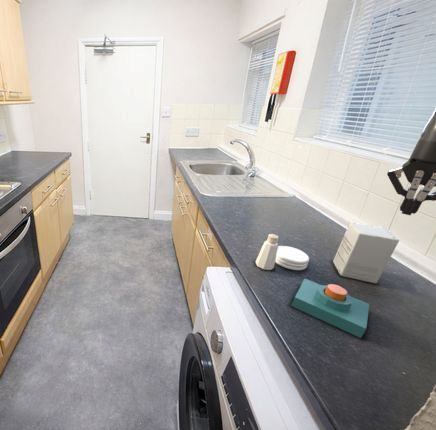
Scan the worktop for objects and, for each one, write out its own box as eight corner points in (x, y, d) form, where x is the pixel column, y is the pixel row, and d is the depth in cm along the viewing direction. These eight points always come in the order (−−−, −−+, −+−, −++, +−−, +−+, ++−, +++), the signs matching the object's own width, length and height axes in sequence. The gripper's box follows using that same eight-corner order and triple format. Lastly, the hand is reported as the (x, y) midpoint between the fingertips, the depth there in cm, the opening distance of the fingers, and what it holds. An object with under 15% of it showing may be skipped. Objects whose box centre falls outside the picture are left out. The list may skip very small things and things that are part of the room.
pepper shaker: (274, 264, 86) (284, 234, 82) (272, 272, 82) (283, 242, 77) (256, 258, 89) (265, 229, 84) (253, 266, 85) (262, 236, 80)
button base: (364, 312, 67) (373, 297, 65) (360, 338, 60) (370, 322, 58) (301, 286, 76) (306, 272, 74) (291, 306, 69) (297, 291, 67)
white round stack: (298, 275, 81) (302, 265, 80) (265, 259, 88) (268, 250, 87) (311, 264, 87) (315, 255, 85) (279, 250, 94) (282, 242, 92)
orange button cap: (345, 295, 66) (348, 289, 65) (343, 303, 64) (346, 297, 63) (325, 288, 69) (328, 281, 68) (323, 295, 66) (326, 289, 65)
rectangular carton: (365, 268, 85) (386, 227, 79) (377, 284, 78) (401, 240, 72) (331, 261, 89) (349, 221, 83) (339, 275, 81) (359, 233, 75)
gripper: (491, 141, 54) (445, 217, 62) (401, 134, 63) (370, 202, 70) (501, 145, 49) (449, 227, 57) (402, 137, 58) (368, 209, 65)
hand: (405, 213), depth 63 cm, fingers closed
